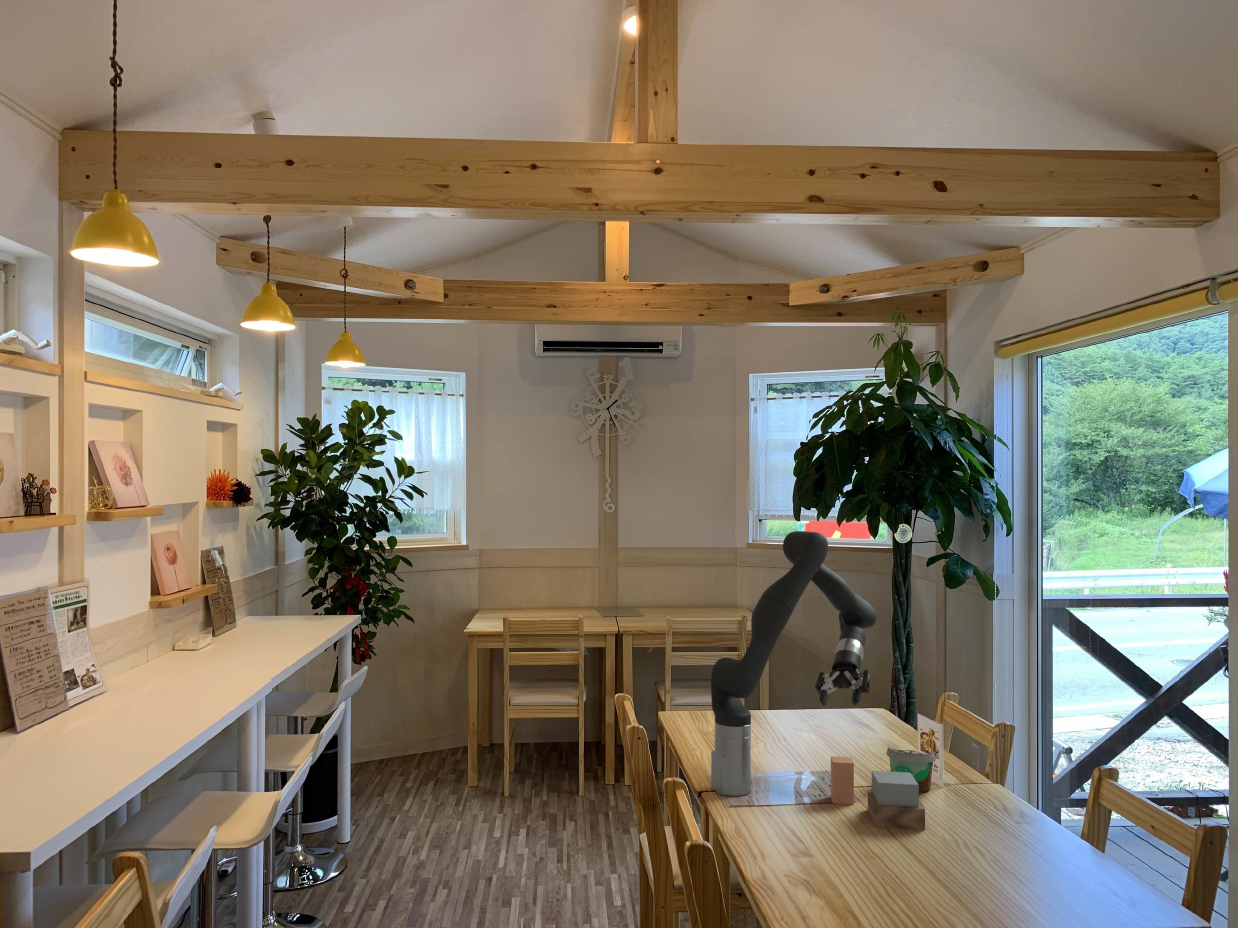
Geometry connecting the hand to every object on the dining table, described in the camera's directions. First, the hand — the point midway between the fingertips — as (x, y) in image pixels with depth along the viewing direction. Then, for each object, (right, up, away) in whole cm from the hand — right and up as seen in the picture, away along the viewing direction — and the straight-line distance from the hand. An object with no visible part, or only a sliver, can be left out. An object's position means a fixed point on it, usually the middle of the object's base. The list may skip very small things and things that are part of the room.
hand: (838, 703), depth 227 cm
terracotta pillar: (-3, -20, -14) cm, 25 cm away
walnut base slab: (+7, -20, -26) cm, 34 cm away
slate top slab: (+7, -15, -26) cm, 31 cm away
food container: (+17, -21, -6) cm, 28 cm away
